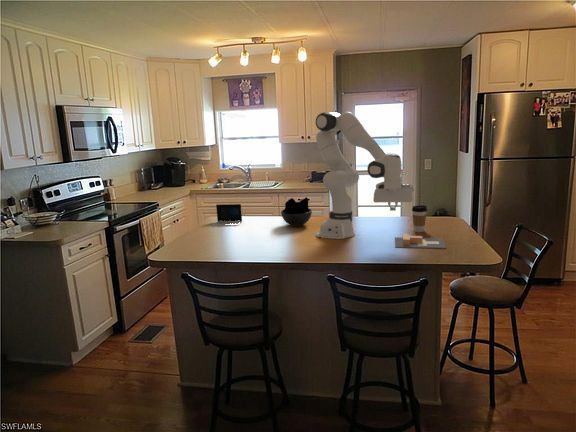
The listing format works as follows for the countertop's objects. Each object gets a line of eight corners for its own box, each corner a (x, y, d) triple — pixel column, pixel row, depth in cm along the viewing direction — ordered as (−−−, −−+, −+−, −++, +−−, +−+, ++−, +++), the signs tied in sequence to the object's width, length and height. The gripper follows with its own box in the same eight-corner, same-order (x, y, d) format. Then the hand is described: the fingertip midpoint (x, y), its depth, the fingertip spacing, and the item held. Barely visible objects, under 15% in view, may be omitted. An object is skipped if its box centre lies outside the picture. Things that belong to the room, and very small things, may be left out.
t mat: (395, 247, 220) (395, 246, 220) (394, 238, 237) (394, 237, 237) (446, 248, 215) (446, 247, 214) (441, 239, 232) (441, 238, 232)
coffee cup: (427, 232, 245) (427, 207, 242) (412, 232, 247) (412, 207, 244) (425, 229, 253) (426, 204, 250) (411, 229, 255) (411, 204, 252)
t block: (403, 244, 223) (403, 239, 222) (402, 239, 233) (402, 233, 232) (422, 245, 220) (423, 239, 220) (421, 239, 231) (421, 234, 230)
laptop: (211, 226, 287) (210, 208, 284) (217, 222, 299) (216, 204, 296) (237, 226, 284) (235, 207, 281) (242, 222, 296) (240, 204, 293)
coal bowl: (276, 228, 272) (275, 200, 267) (288, 221, 289) (287, 194, 285) (306, 230, 264) (305, 200, 260) (316, 223, 282) (315, 195, 278)
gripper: (412, 183, 223) (412, 209, 226) (373, 184, 228) (373, 209, 231) (413, 185, 217) (413, 211, 220) (373, 186, 222) (373, 211, 225)
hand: (392, 210), depth 225 cm, fingers closed
